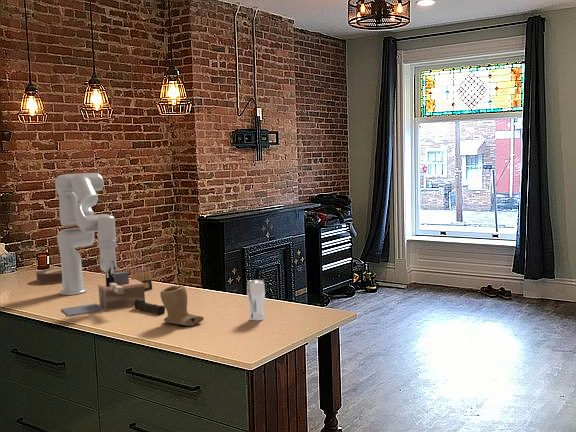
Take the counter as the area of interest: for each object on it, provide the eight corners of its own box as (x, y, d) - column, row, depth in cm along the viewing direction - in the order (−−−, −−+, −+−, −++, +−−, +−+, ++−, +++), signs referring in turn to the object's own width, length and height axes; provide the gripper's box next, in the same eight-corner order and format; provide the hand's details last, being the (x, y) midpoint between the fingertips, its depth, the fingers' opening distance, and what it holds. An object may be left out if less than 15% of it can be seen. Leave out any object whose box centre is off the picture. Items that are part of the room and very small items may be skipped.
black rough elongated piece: (166, 314, 263) (165, 303, 262) (158, 316, 260) (157, 305, 260) (140, 307, 276) (139, 297, 276) (132, 309, 273) (131, 299, 273)
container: (53, 276, 359) (53, 265, 358) (83, 277, 352) (82, 267, 351) (28, 284, 340) (27, 272, 339) (58, 285, 333) (58, 274, 333)
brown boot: (155, 324, 246) (153, 286, 244) (179, 317, 255) (177, 281, 254) (181, 330, 236) (179, 291, 235) (205, 323, 245) (203, 285, 244)
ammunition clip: (132, 293, 305) (130, 268, 304) (130, 292, 307) (129, 268, 305) (152, 289, 312) (151, 265, 311) (150, 289, 313) (149, 265, 312)
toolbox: (99, 304, 284) (98, 287, 283) (136, 298, 293) (135, 281, 292) (107, 309, 274) (105, 291, 273) (145, 303, 282) (144, 285, 282)
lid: (98, 289, 283) (97, 273, 282) (135, 283, 292) (134, 268, 291) (106, 293, 273) (104, 277, 272) (144, 288, 282) (143, 272, 281)
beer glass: (259, 322, 244) (257, 283, 242) (244, 320, 247) (243, 282, 246) (269, 317, 250) (267, 280, 248) (255, 315, 253) (253, 279, 252)
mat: (61, 309, 276) (61, 308, 276) (95, 304, 284) (95, 303, 284) (68, 316, 264) (68, 315, 264) (104, 310, 272) (104, 309, 272)
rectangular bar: (109, 288, 271) (109, 283, 271) (113, 288, 272) (113, 282, 272) (119, 294, 260) (118, 288, 259) (123, 293, 261) (123, 287, 260)
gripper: (94, 243, 276) (97, 284, 278) (103, 247, 263) (106, 290, 265) (111, 241, 280) (114, 282, 282) (121, 245, 267) (124, 287, 269)
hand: (110, 286), depth 273 cm, fingers closed
